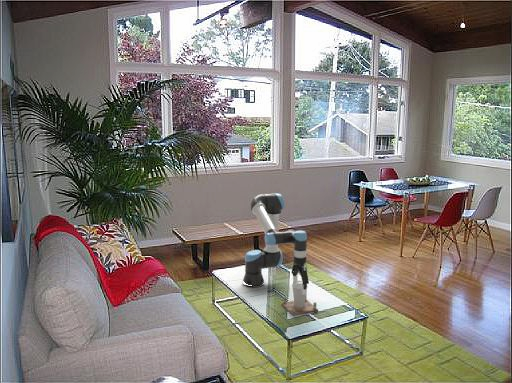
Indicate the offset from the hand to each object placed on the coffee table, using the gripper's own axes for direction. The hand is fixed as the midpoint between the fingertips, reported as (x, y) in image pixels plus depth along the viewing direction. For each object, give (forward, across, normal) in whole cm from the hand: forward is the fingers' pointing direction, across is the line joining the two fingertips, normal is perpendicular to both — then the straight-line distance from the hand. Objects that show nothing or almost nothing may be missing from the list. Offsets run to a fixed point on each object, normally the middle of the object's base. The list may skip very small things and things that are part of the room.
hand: (299, 289), depth 260 cm
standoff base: (+12, 0, 0) cm, 12 cm away
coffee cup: (+11, 0, 0) cm, 11 cm away
